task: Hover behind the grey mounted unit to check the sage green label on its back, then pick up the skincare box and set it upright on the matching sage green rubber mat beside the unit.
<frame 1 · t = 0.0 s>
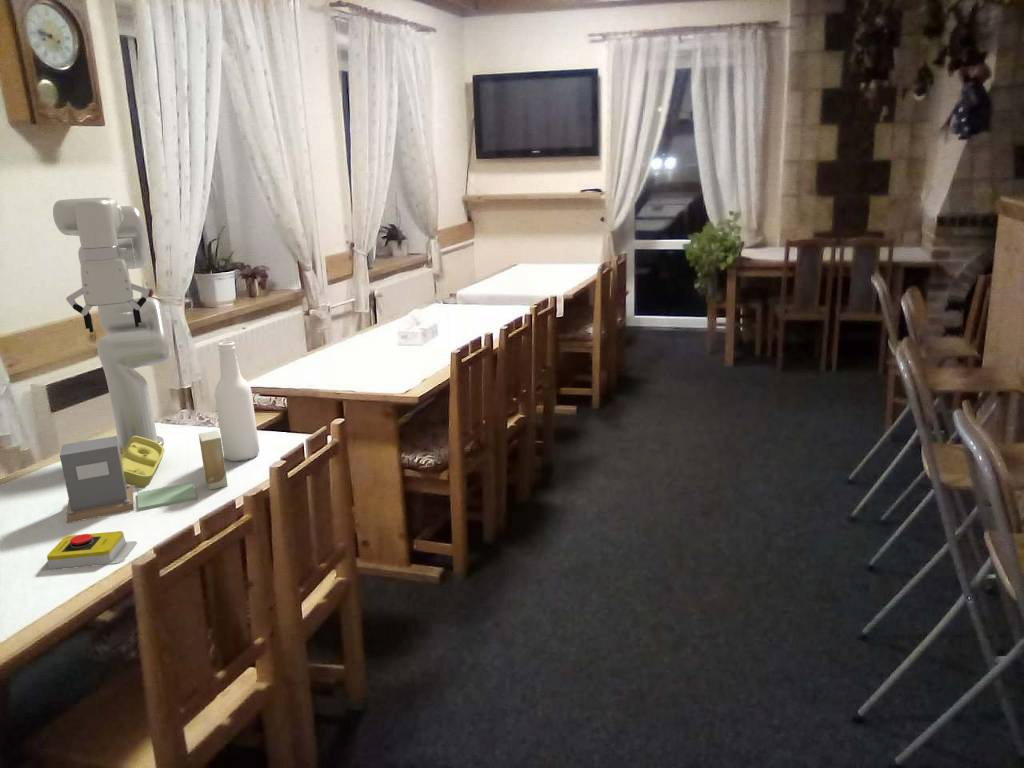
hand: (114, 328, 185), 37 cm above the table, tool pointing down, fingers open, 9 cm apart
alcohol: (242, 456, 206), on the table
skincare box: (216, 484, 188), on the table
plastic component: (137, 476, 196), on the table
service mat: (166, 496, 181), on the table
mounted unit: (101, 506, 178), on the table
emergency button: (91, 559, 155), on the table
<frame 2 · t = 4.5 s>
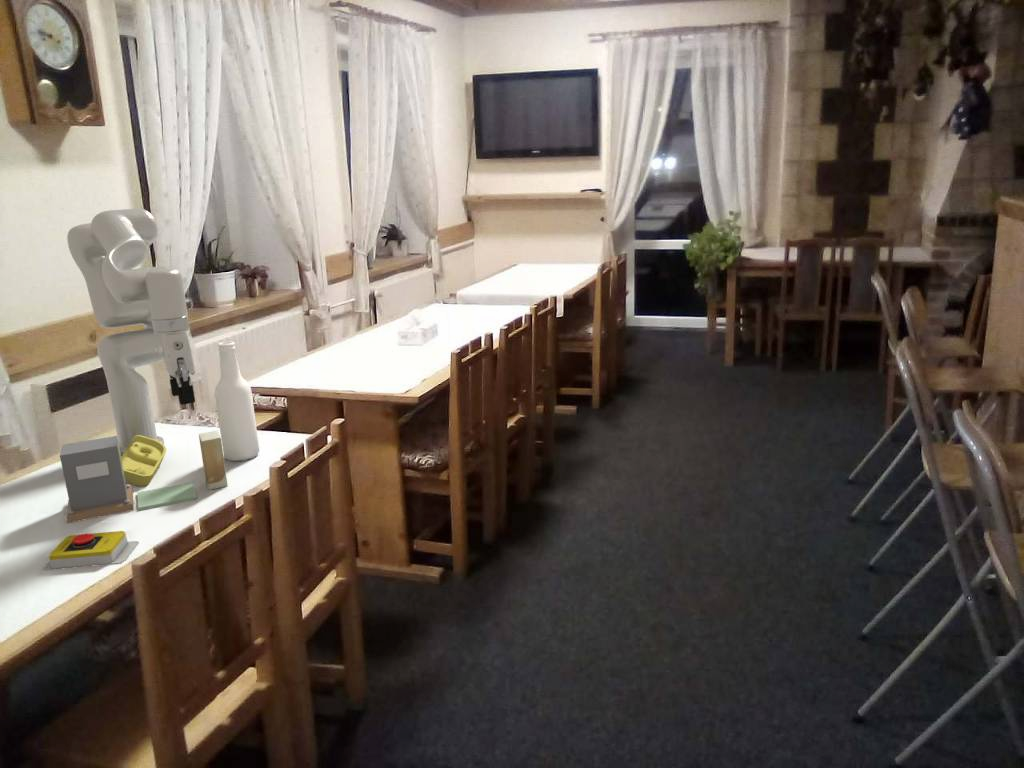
hand: (183, 399, 182), 21 cm above the table, tool pointing down, fingers open, 9 cm apart
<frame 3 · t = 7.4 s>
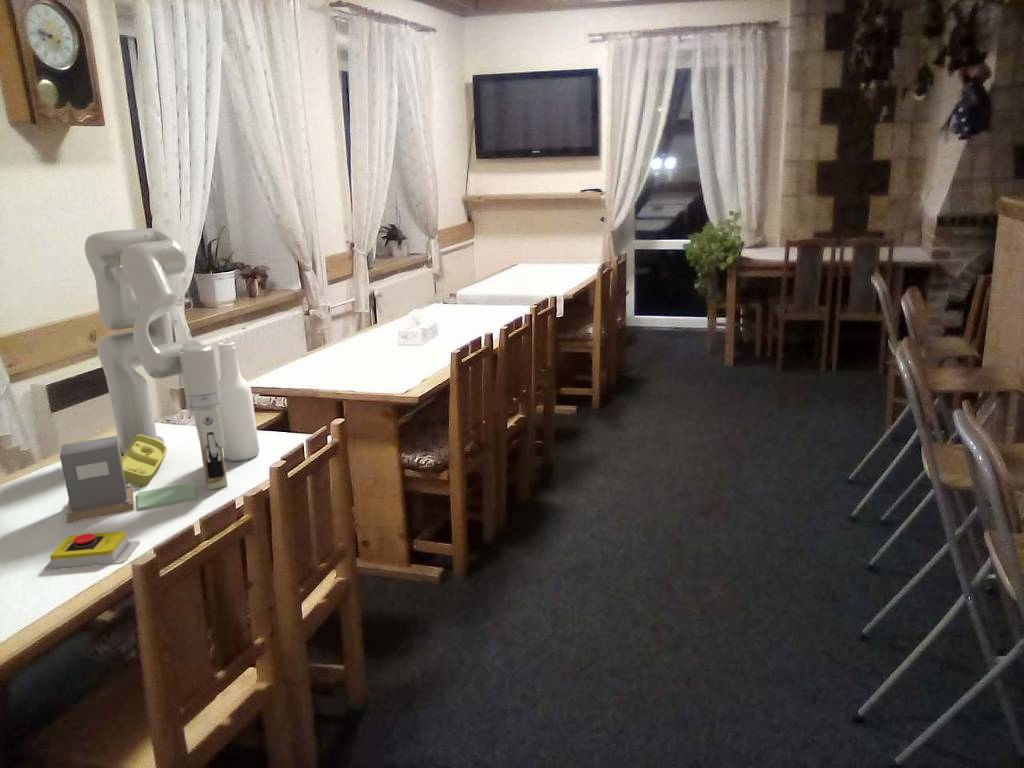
hand: (214, 471, 187), 3 cm above the table, tool pointing down, fingers closed on skincare box, 6 cm apart
skincare box: (216, 484, 188), on the table, touching gripper
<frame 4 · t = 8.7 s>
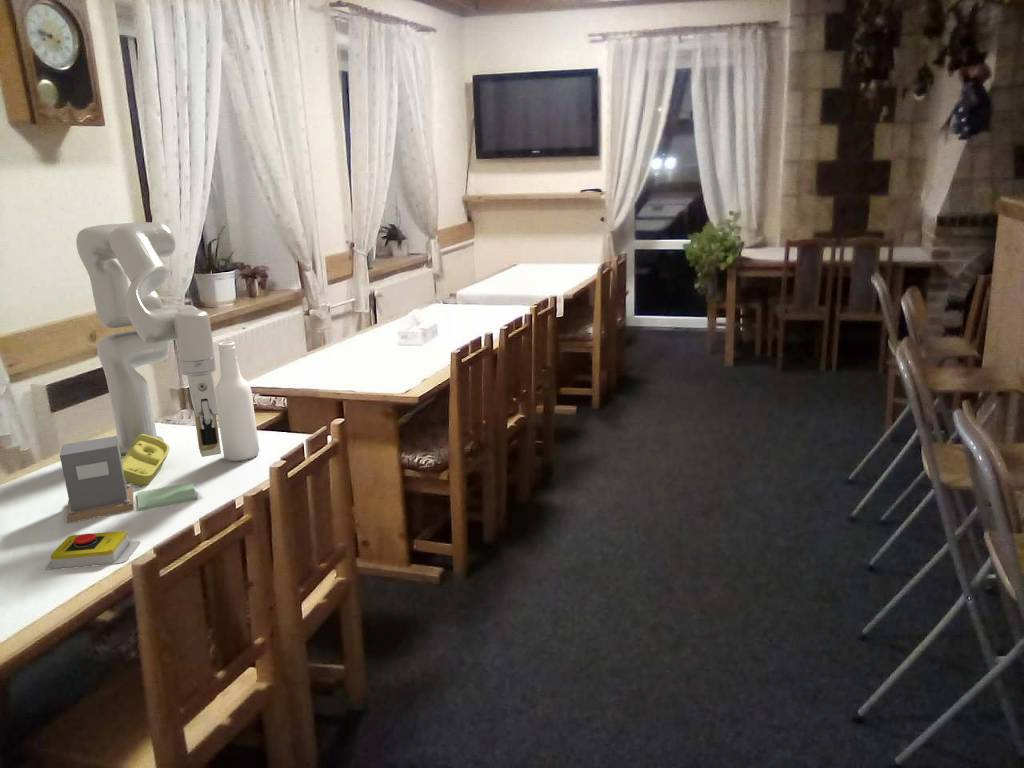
hand: (208, 438, 185), 11 cm above the table, tool pointing down, fingers closed on skincare box, 6 cm apart
skincare box: (210, 452, 186), point 8 cm above the table, touching gripper
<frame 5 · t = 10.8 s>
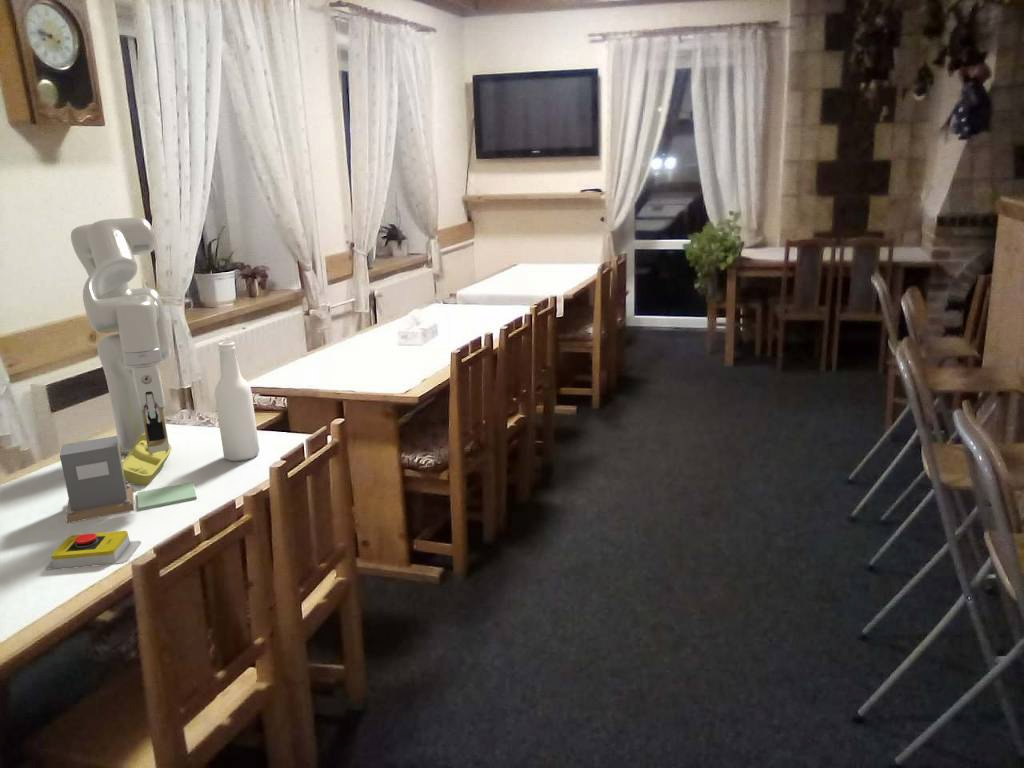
hand: (156, 434, 177), 15 cm above the table, tool pointing down, fingers closed on skincare box, 6 cm apart
skincare box: (158, 448, 178), point 12 cm above the table, touching gripper
when the fingers open (5 cm above the table, at t = 13.3 s): skincare box drops 1 cm, resting on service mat.
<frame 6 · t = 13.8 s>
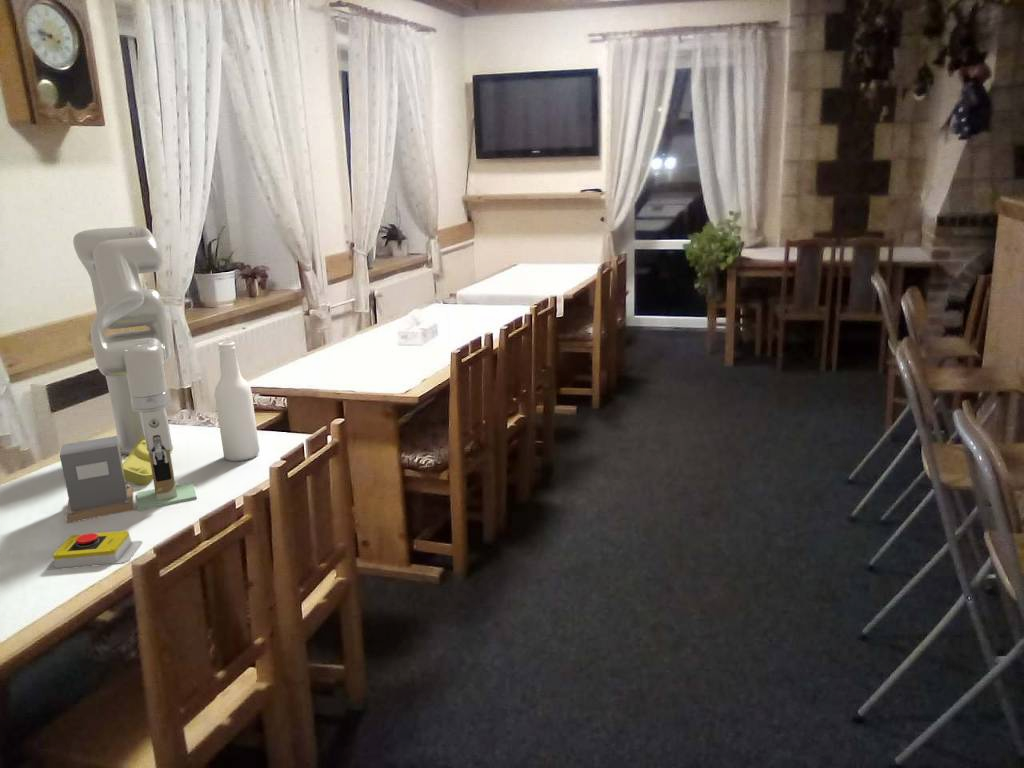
hand: (162, 473, 180), 6 cm above the table, tool pointing down, fingers open, 9 cm apart
skincare box: (166, 495, 181), resting on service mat
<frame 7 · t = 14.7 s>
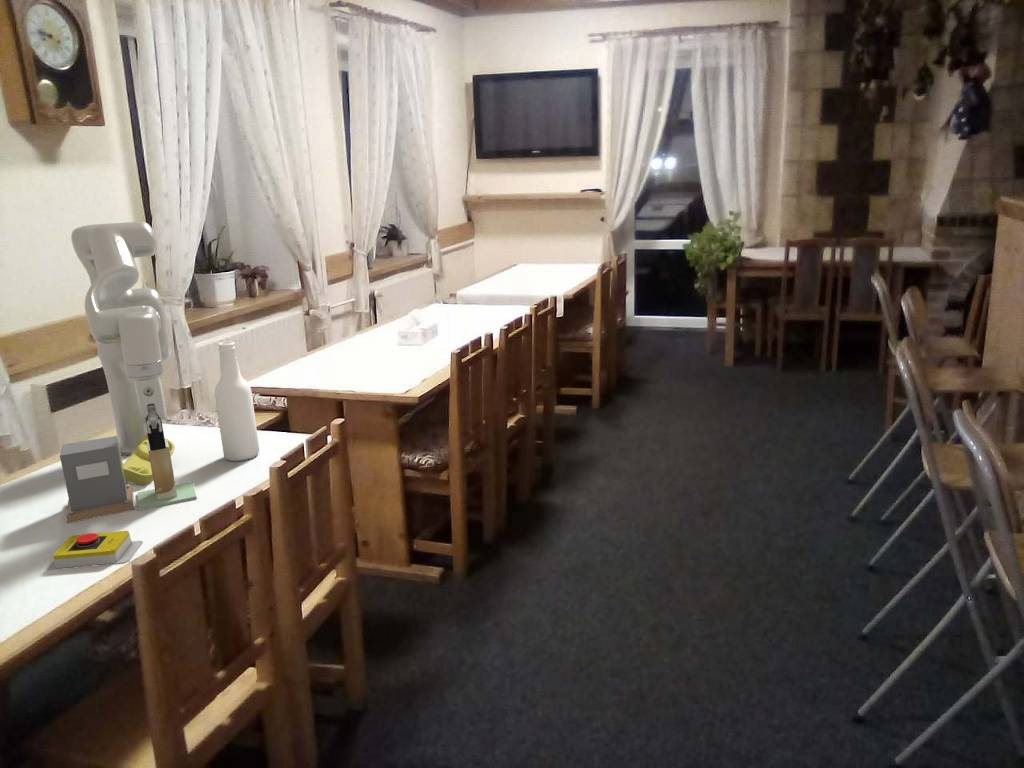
hand: (157, 442, 178), 13 cm above the table, tool pointing down, fingers open, 9 cm apart
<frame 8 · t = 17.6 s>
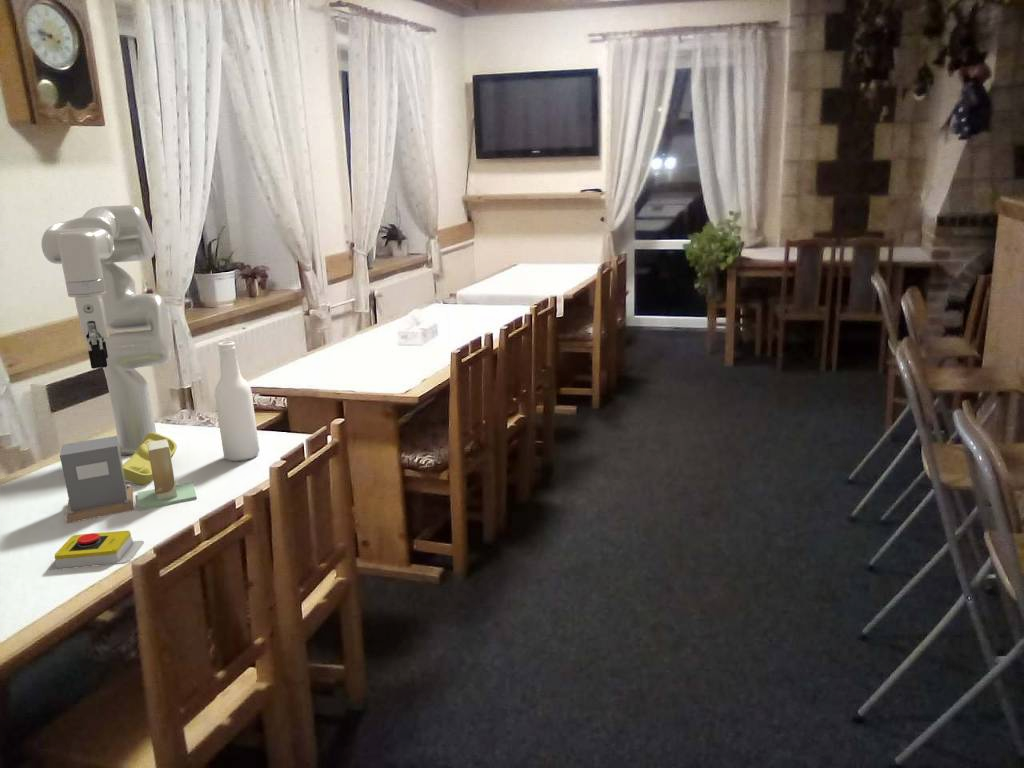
hand: (100, 363, 180), 30 cm above the table, tool pointing down, fingers open, 9 cm apart
at the end: skincare box inside the target area on the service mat (0.1 cm from its centre), point 0.4 cm above the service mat's base; skincare box tilted 0°; the gripper is holding nothing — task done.
